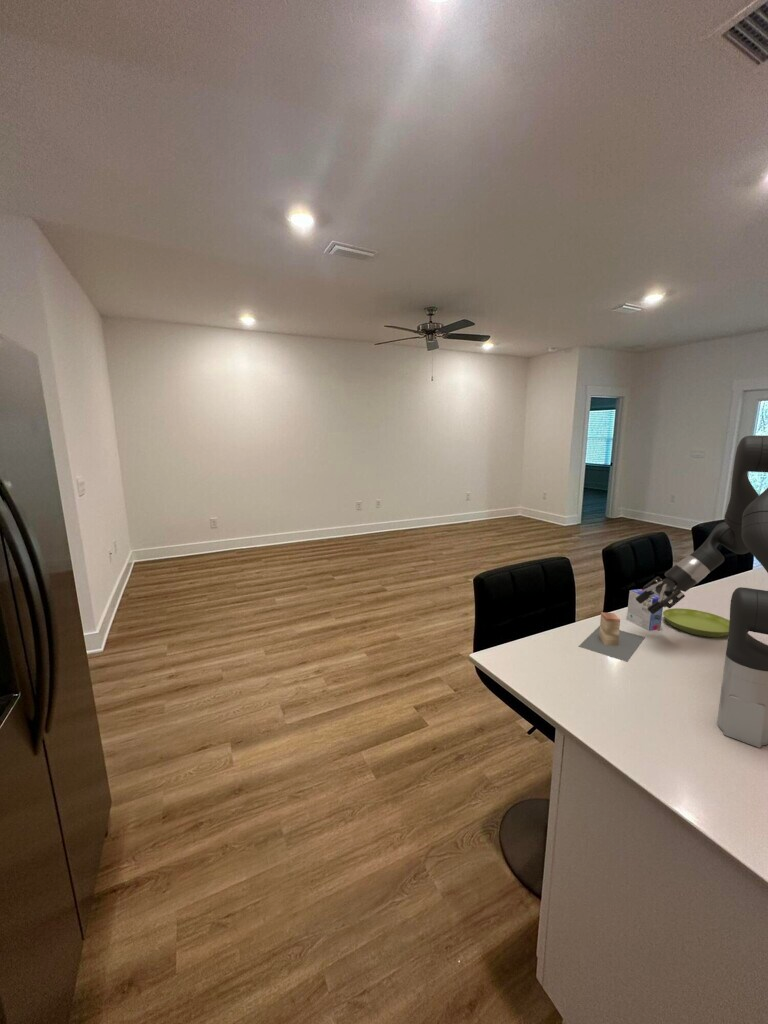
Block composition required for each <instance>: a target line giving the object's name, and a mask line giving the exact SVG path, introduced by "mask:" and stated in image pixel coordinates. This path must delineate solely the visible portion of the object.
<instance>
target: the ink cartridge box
mask: <svg viewBox="0 0 768 1024" xmlns="http://www.w3.org/2000/svg"><path fill="white" fill-rule="evenodd" d="M649 587H650V586H649ZM649 587H648V588H649ZM643 592H644V588H640V589H639V588H637V589H631V590H629V593H628V603H627V604H628V605H627V613H626V618H625V619H626V621H628V622H629V623H632V624H634V625H636V626H638V627H640V628H642V629H644V630H647V631H648V632H651V631H658V632H659V631H661V627H662V619H663V612H664V610H663V608H664V607H662V608H661V609H660V610H658V611H657V612H656V613H654V614H652V613H650V612H649V611H648V609H647V608H648V607H650V606H651V605H652V604H654V603H655V602H656V601H657V602H658V600H659V598H660V595H653V596H649V598H648V599H647V600H645V601H644V602H643V603H641V604H640V603H639V602H638V601H637V600H636V597H638V596H639V595H640V594H642V593H643ZM652 592H653V591H652Z"/></svg>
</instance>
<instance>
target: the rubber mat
mask: <svg viewBox="0 0 768 1024" xmlns="http://www.w3.org/2000/svg"><path fill="white" fill-rule="evenodd" d="M599 634H600V625H599V626H598V627H597V628H596V629H594V631H593V632H592V633H590V634H589V636H587V637H586V638H585V639H584V641H582V642H581V643H580V644H579V645H578V647H579V648H582V649H584V650H585V649H586V650H589V651H591V652H595V653H597V654H601V655H603V656H606V657H610V658H613V659H617V660H620V661H623V662H626V663H628V662H629V661H630V659H631V657H632V656H633V655H634V653H636V651H637V650H638V648H639V647H640V645H641V644H642V643H643V642H644V640H645V639H646V636H644V635H638V634H635V633H631V632H628V631H624V630H621V629H619V639H618V646H614V645H604V643H603V642H602V641H601V640H600V638H599Z"/></svg>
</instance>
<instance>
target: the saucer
mask: <svg viewBox="0 0 768 1024" xmlns="http://www.w3.org/2000/svg"><path fill="white" fill-rule="evenodd" d="M662 616H663V617H664V619H665V620H666V621H667V623H668V624H669V625H671V626H672V627H674V628H675V629H677V630H680V631H682V632H684V633H687V634H692V635H696V636H700V637H701V636H702V637H707V638H719V637H720V638H721V637H725V636H727V635H728V634H729V622H730V619H728V618H725V617H723V616H720V615H718V614H715V613H711V612H708V611H702V610H697V609H692V608H680V607H679V608H678V607H677V608H667V609H664V610H663V611H662Z"/></svg>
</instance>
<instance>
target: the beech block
mask: <svg viewBox="0 0 768 1024" xmlns="http://www.w3.org/2000/svg"><path fill="white" fill-rule="evenodd" d="M599 621H600V623H599V626H600V634H599V638H600V640H601V641H602V642H603V643H604V645H614V646H618V639H619V630H620V625H621V624H620V623H621V619H620V618H619V616H618V615H617V614H616V613H615V612H602V611H601V612H600V620H599Z"/></svg>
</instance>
